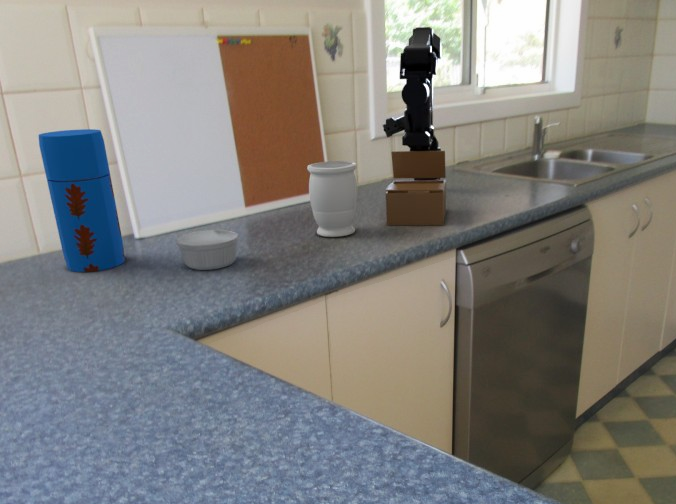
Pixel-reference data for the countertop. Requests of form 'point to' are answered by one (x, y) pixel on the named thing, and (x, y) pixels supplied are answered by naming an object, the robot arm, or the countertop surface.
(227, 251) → the ramekin
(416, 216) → the carton
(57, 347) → the countertop surface
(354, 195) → the jar
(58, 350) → the countertop surface
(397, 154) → the flap
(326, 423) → the countertop surface
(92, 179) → the thermos
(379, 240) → the countertop surface
